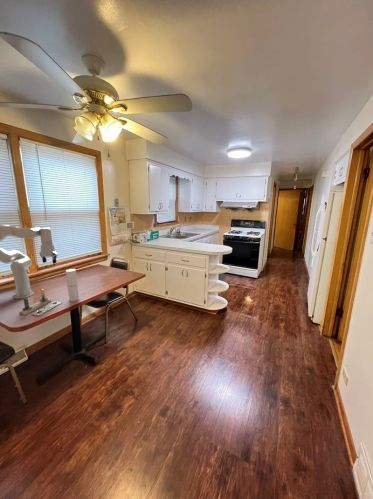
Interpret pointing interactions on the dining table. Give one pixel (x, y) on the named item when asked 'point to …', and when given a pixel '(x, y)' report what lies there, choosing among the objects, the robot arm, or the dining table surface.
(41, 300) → the slide pin
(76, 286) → the cylindrical container
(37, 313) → the flange plate
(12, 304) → the dining table surface
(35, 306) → the divider rail
